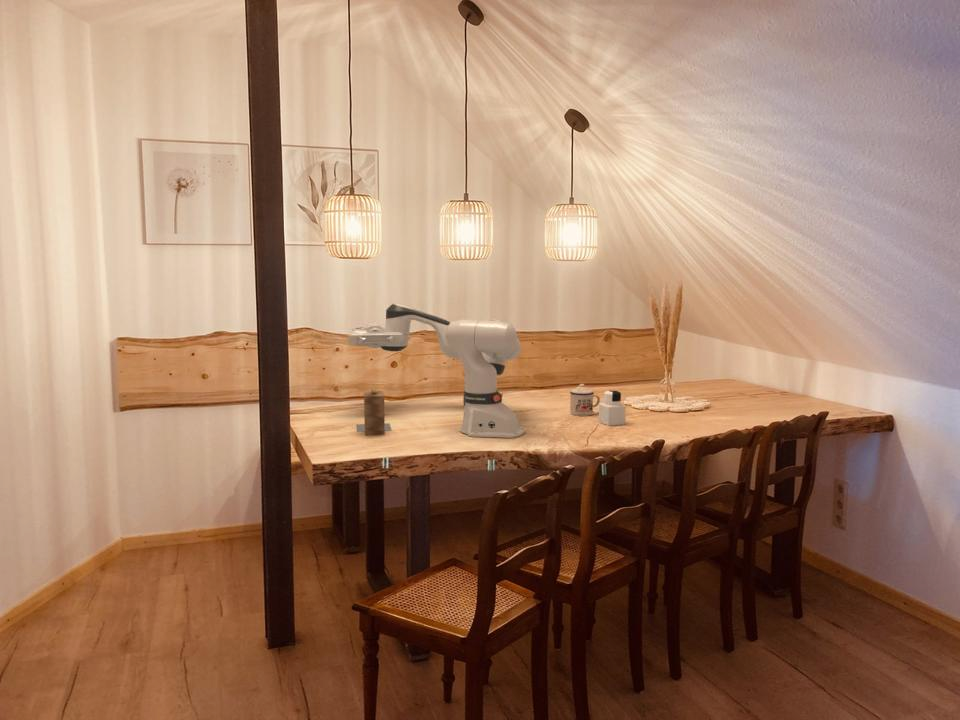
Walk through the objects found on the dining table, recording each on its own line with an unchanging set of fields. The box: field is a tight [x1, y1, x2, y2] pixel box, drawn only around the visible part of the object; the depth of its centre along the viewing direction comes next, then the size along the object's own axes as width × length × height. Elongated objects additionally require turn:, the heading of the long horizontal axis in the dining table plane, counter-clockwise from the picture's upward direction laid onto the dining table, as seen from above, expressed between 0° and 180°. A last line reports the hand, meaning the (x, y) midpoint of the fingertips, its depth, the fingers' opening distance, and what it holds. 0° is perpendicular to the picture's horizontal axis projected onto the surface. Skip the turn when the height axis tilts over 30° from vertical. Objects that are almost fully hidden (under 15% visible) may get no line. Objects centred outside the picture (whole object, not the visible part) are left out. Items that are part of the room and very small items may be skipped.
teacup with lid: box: [569, 383, 601, 417], centre depth 315 cm, size 12×9×12 cm
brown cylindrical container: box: [363, 389, 386, 436], centre depth 280 cm, size 7×7×15 cm
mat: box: [355, 422, 392, 433], centre depth 289 cm, size 12×12×1 cm
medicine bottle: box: [598, 390, 626, 427], centre depth 297 cm, size 7×7×12 cm
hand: (376, 340), depth 298 cm, fingers open, 8 cm apart
